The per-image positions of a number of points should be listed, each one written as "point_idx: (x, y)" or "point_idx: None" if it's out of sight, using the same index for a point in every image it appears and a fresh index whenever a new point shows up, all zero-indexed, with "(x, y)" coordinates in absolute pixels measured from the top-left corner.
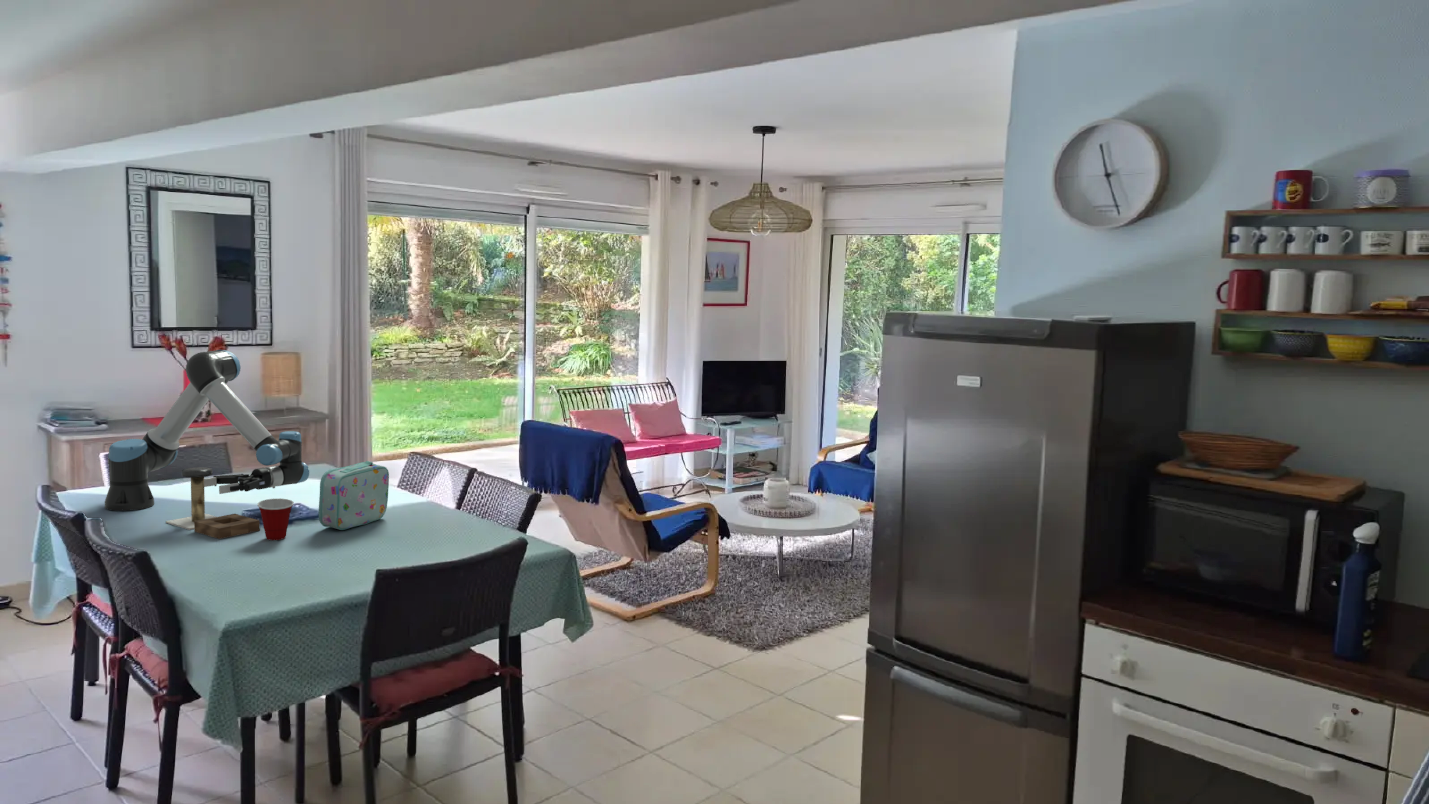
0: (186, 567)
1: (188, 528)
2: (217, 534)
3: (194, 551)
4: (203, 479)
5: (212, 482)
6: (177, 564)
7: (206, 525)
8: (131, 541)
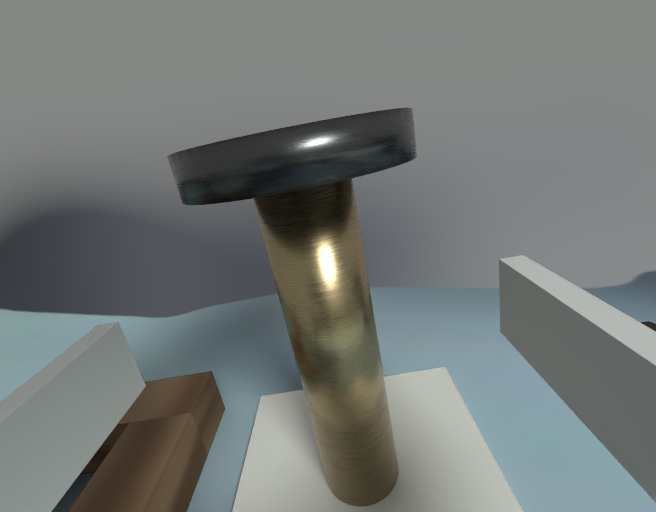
0: (36, 329)
1: (267, 397)
2: None
3: None
4: (264, 228)
5: (633, 424)
6: (66, 324)
7: None
8: None
